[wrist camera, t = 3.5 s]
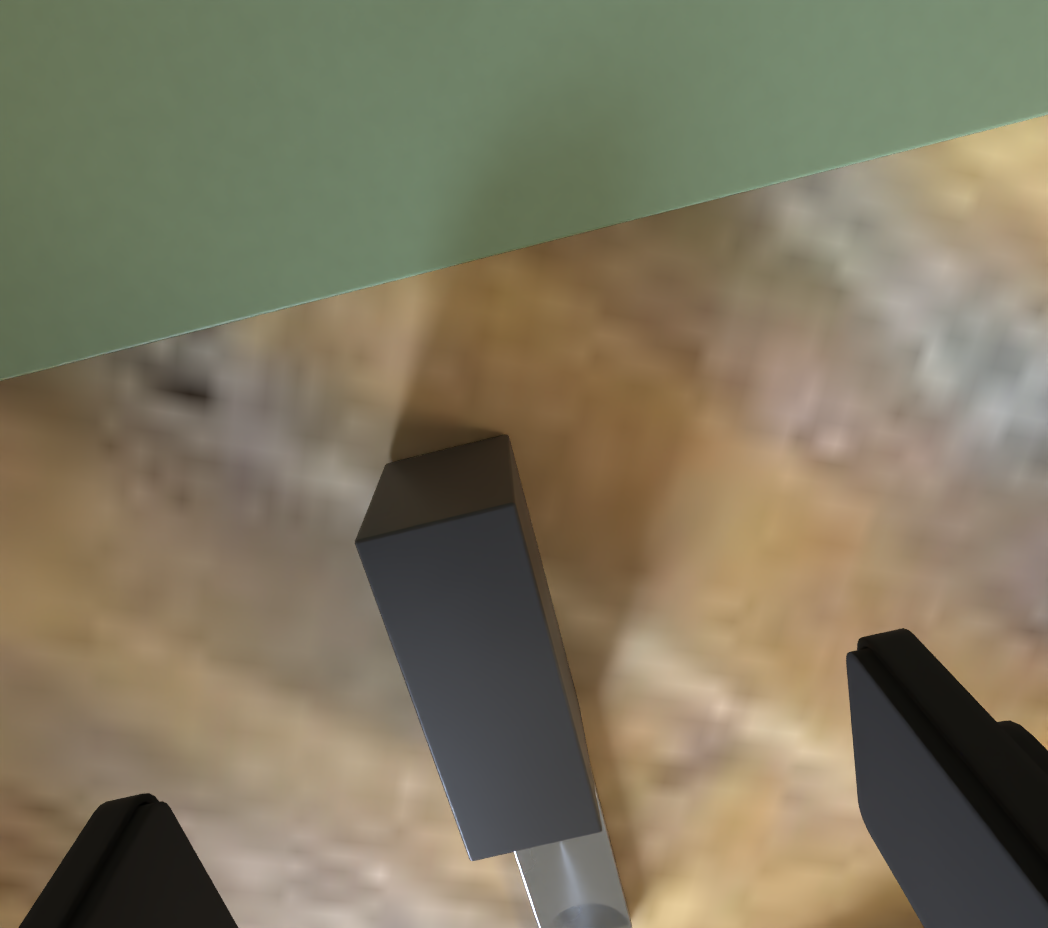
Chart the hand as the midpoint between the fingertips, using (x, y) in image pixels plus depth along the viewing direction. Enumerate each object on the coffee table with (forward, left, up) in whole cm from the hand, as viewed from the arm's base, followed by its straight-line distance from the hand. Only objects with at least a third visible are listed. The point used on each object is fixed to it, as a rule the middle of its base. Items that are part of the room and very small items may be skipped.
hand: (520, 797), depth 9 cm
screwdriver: (-1, -5, -6) cm, 8 cm away
